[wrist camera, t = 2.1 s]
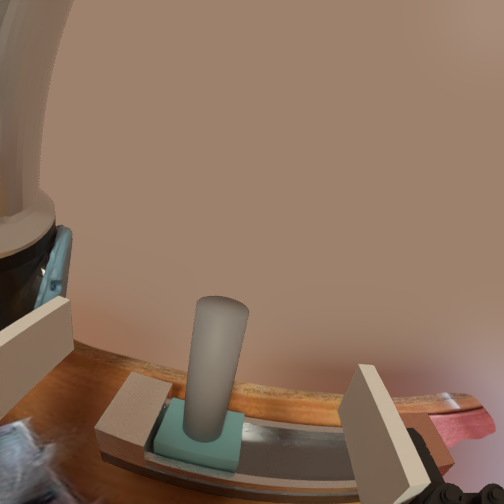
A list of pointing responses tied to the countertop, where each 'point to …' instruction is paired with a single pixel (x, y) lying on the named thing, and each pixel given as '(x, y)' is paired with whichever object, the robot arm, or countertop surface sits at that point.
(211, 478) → the rail track
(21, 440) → the countertop surface
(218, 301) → the carriage
